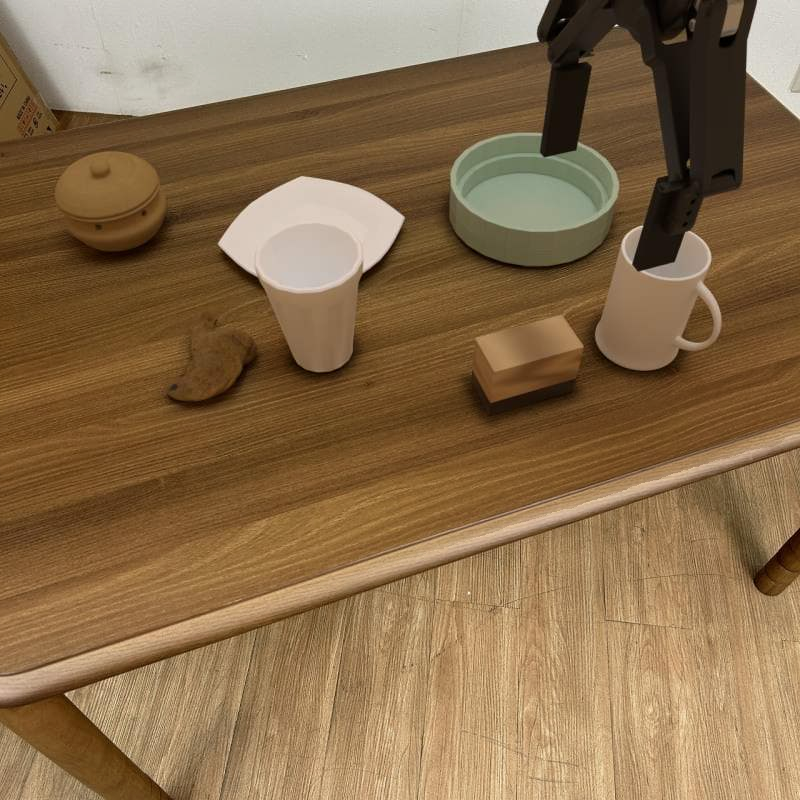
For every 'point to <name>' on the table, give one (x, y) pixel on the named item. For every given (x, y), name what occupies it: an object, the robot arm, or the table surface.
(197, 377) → the ginger root
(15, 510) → the table surface
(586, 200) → the bowl
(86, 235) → the pot
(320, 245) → the cup
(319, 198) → the plate
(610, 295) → the mug
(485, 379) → the block
